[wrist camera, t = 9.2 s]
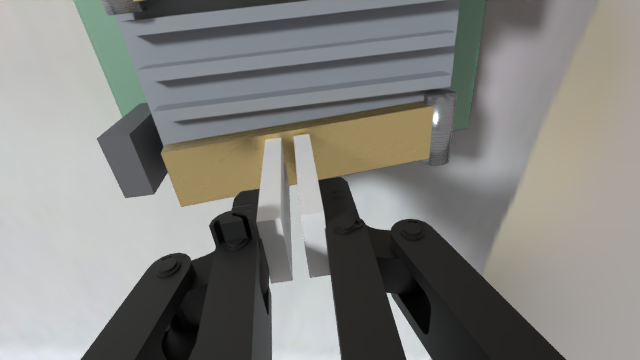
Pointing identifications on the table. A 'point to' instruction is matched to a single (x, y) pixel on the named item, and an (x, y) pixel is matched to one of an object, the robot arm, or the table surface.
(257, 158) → the strap
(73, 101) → the table surface
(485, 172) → the table surface
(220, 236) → the robot arm
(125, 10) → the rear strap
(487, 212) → the table surface
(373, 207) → the table surface
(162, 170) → the heatsink module
